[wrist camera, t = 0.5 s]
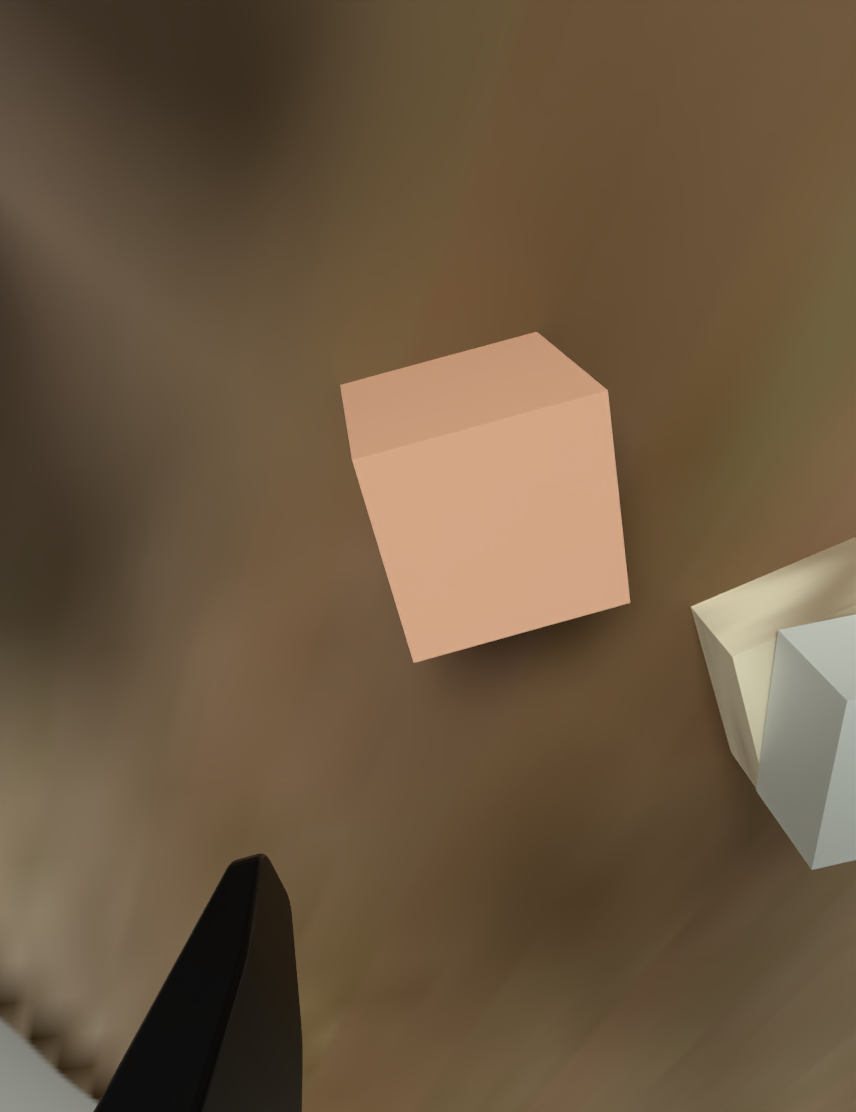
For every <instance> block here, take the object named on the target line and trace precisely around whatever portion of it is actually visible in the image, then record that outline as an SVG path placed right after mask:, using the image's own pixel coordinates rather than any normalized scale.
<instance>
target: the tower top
mask: <svg viewBox="0 0 856 1112" xmlns="http://www.w3.org/2000/svg"><path fill="white" fill-rule="evenodd" d="M756 791H757V793H758V794H759V796H760V797H761V799H762V800H763V801H764V803H765V804H766V806H767V807H768V809H769V810H770V811H771V813H772V814H773V816H774V817H775V819H776V820H777V821H778V823H779V824H780V826H781V827H782V829H783V830H784V831H785V833H786V834H787V836H788V837H789V838H790V840H791V841H792V843H793V844H794V846H795V847H796V848H797V850H798V851H799V853H800V854H801V856H802V857H803V858H804V860H805V861H806V863H807V864H808V866H809V867H810V868H811V870H814V869H819V868H823V867H827V866H832V865H836V864H840V863H845V862H849V861H854V860H856V614H855V615H850V616H845V617H840V618H835V619H830V620H825V621H820V622H815V623H810V624H805V625H801V626H796V627H791V628H786V629H781V630H778V636H777V643H776V650H775V657H774V664H773V672H772V679H771V686H770V693H769V700H768V707H767V715H766V722H765V729H764V736H763V743H762V750H761V758H760V765H759V772H758V779H757V786H756Z"/></svg>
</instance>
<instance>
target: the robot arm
mask: <svg viewBox="0 0 856 1112" xmlns="http://www.w3.org/2000/svg"><path fill="white" fill-rule="evenodd" d="M94 1112H302V1031H301V1017H300V1005H299V993H298V982H297V970H296V958H295V947H294V935H293V923H292V912H291V906H290V901H289V898H288V895H287V892H286V890H285V888H284V886H283V884H282V882H281V881H280V879H279V877H278V875H277V873H276V871H275V869H274V867H273V865H272V863H271V861H270V860H269V858H268V857H267V856H266V855H265V854H256V855H252V856H248V857H245V858H241V859H237V860H235V861H233V862H232V863H231V864H230V865H229V866H228V868H227V869H226V871H225V873H224V875H223V876H222V878H221V880H220V882H219V884H218V886H217V887H216V889H215V891H214V893H213V895H212V897H211V898H210V900H209V902H208V904H207V906H206V908H205V909H204V911H203V913H202V915H201V917H200V918H199V920H198V922H197V924H196V926H195V928H194V929H193V931H192V933H191V935H190V937H189V939H188V940H187V942H186V944H185V946H184V948H183V949H182V951H181V953H180V955H179V957H178V959H177V960H176V962H175V964H174V966H173V968H172V970H171V971H170V973H169V975H168V977H167V979H166V981H165V982H164V984H163V986H162V988H161V990H160V991H159V993H158V995H157V997H156V999H155V1001H154V1002H153V1004H152V1006H151V1008H150V1010H149V1012H148V1013H147V1015H146V1017H145V1019H144V1021H143V1023H142V1024H141V1026H140V1028H139V1030H138V1032H137V1033H136V1035H135V1037H134V1039H133V1041H132V1043H131V1044H130V1046H129V1048H128V1050H127V1052H126V1054H125V1055H124V1057H123V1059H122V1061H121V1063H120V1064H119V1066H118V1068H117V1070H116V1072H115V1074H114V1075H113V1077H112V1079H111V1081H110V1083H109V1085H108V1086H107V1088H106V1090H105V1092H104V1094H103V1096H102V1097H101V1099H100V1101H99V1103H98V1105H97V1107H96V1108H95V1110H94Z"/></svg>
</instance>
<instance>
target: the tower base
mask: <svg viewBox="0 0 856 1112" xmlns="http://www.w3.org/2000/svg"><path fill="white" fill-rule="evenodd" d="M691 610H692V613H693V617H694V620H695V624H696V628H697V631H698V635H699V638H700V642H701V646H702V649H703V653H704V657H705V660H706V664H707V667H708V671H709V675H710V678H711V682H712V686H713V689H714V693H715V696H716V700H717V704H718V707H719V711H720V715H721V718H722V722H723V725H724V729H725V733H726V736H727V740H728V744H729V747H730V751H731V753H732V755H733V756H734V757H735V759H736V760H737V762H738V763H739V765H740V766H741V767H742V769H743V770H744V772H745V773H746V775H747V776H748V777H749V779H750V780H751V782H752V783H753V785H754V786H755V787H756V786H757V779H758V772H759V765H760V758H761V750H762V743H763V736H764V729H765V722H766V715H767V707H768V700H769V693H770V686H771V679H772V672H773V664H774V657H775V650H776V643H777V636H778V630H781V629H786V628H791V627H796V626H801V625H805V624H810V623H815V622H820V621H825V620H830V619H835V618H840V617H845V616H850V615H855V614H856V537H854V538H852V539H850V540H847V541H845V542H842V543H840V544H838V545H835V546H833V547H831V548H828V549H826V550H824V551H821V552H819V553H817V554H814V555H812V556H809V557H807V558H805V559H802V560H800V561H798V562H795V563H793V564H791V565H788V566H786V567H783V568H781V569H779V570H776V571H774V572H772V573H769V574H767V575H765V576H762V577H760V578H758V579H755V580H753V581H750V582H748V583H746V584H743V585H741V586H739V587H736V588H734V589H732V590H729V591H727V592H724V593H722V594H720V595H717V596H715V597H713V598H710V599H708V600H706V601H703V602H701V603H698V604H696V605H694V606H691Z"/></svg>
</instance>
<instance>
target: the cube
mask: <svg viewBox="0 0 856 1112" xmlns="http://www.w3.org/2000/svg"><path fill="white" fill-rule="evenodd" d="M340 387H341V393H342V399H343V406H344V412H345V418H346V424H347V431H348V437H349V443H350V450H351V456H352V461H353V464H354V468H355V471H356V474H357V478H358V481H359V484H360V488H361V491H362V494H363V497H364V501H365V504H366V507H367V511H368V514H369V517H370V520H371V524H372V527H373V530H374V534H375V537H376V540H377V544H378V547H379V550H380V553H381V557H382V560H383V563H384V567H385V570H386V573H387V576H388V580H389V583H390V586H391V590H392V593H393V596H394V600H395V603H396V606H397V609H398V613H399V616H400V619H401V623H402V626H403V629H404V632H405V636H406V639H407V642H408V646H409V649H410V652H411V656H412V659H413V662H414V663H415V662H419V661H422V660H426V659H430V658H433V657H437V656H440V655H444V654H448V653H451V652H455V651H458V650H462V649H466V648H469V647H473V646H476V645H480V644H484V643H487V642H491V641H495V640H498V639H502V638H505V637H509V636H513V635H516V634H520V633H523V632H527V631H531V630H534V629H538V628H541V627H545V626H549V625H552V624H556V623H559V622H563V621H567V620H570V619H574V618H577V617H581V616H585V615H588V614H592V613H595V612H599V611H603V610H606V609H610V608H613V607H617V606H621V605H624V604H628V603H630V595H629V586H628V576H627V567H626V558H625V548H624V539H623V529H622V520H621V510H620V501H619V491H618V482H617V472H616V463H615V454H614V444H613V435H612V425H611V416H610V406H609V397H608V390H607V389H606V388H604V387H603V386H602V385H601V384H599V383H598V382H597V381H596V380H595V379H593V378H592V377H591V376H590V375H589V374H587V373H586V372H585V371H584V370H583V369H581V368H580V367H579V366H578V365H576V364H575V363H574V362H573V361H572V360H570V359H569V358H568V357H567V356H566V355H564V354H563V353H562V352H561V351H559V350H558V349H557V348H556V347H555V346H553V345H552V344H551V343H550V342H549V341H547V340H546V339H545V338H544V337H543V336H541V335H540V334H539V333H538V332H534V333H531V334H527V335H523V336H519V337H516V338H512V339H508V340H505V341H501V342H497V343H494V344H490V345H486V346H483V347H479V348H475V349H471V350H468V351H464V352H460V353H457V354H453V355H449V356H446V357H442V358H438V359H435V360H431V361H427V362H424V363H420V364H416V365H412V366H409V367H405V368H401V369H398V370H394V371H390V372H387V373H383V374H379V375H376V376H372V377H368V378H364V379H361V380H357V381H353V382H350V383H346V384H342V385H340Z"/></svg>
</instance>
